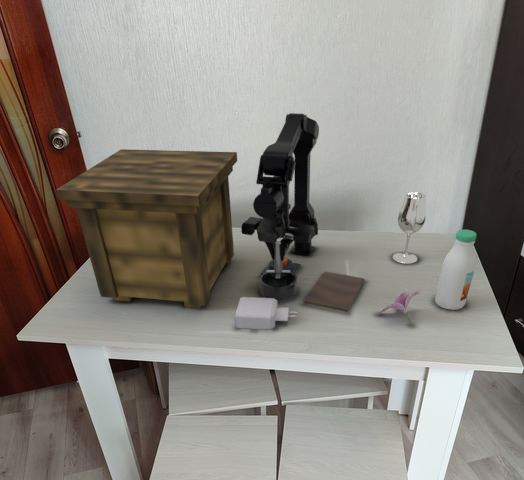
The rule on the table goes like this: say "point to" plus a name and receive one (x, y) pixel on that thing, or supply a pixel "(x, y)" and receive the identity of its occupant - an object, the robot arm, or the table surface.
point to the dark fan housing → (278, 286)
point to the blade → (277, 264)
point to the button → (285, 262)
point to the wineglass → (411, 222)
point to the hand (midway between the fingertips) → (278, 259)
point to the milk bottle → (457, 272)
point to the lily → (401, 302)
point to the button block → (291, 266)
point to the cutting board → (335, 291)
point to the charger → (260, 313)
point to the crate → (156, 222)
